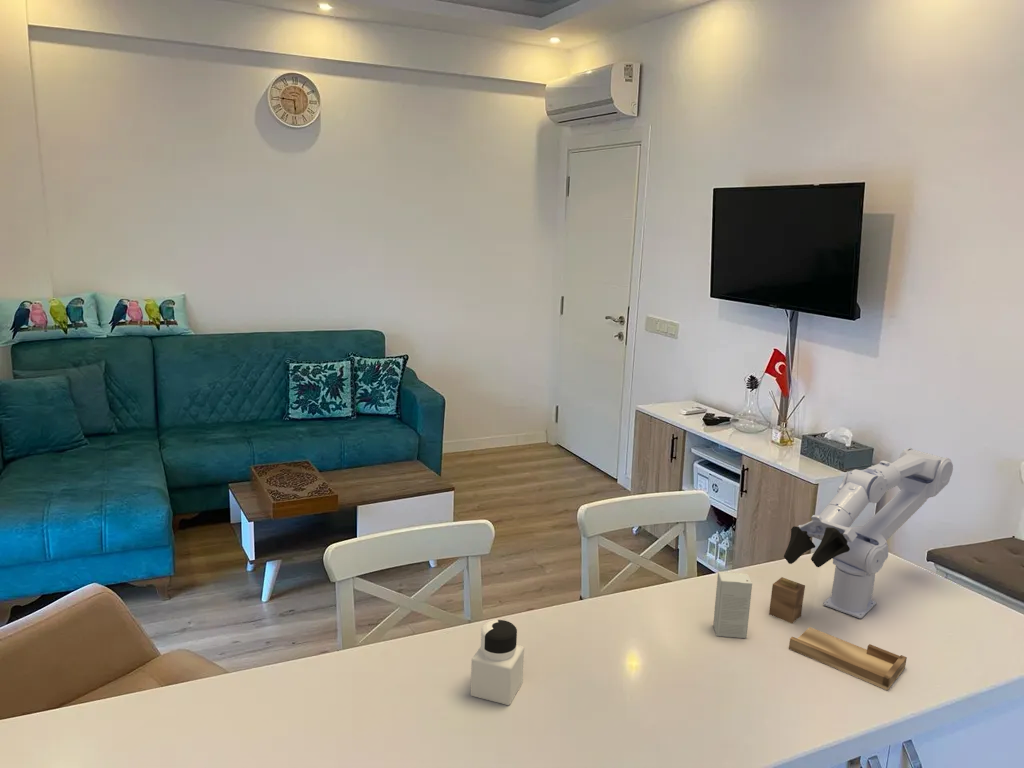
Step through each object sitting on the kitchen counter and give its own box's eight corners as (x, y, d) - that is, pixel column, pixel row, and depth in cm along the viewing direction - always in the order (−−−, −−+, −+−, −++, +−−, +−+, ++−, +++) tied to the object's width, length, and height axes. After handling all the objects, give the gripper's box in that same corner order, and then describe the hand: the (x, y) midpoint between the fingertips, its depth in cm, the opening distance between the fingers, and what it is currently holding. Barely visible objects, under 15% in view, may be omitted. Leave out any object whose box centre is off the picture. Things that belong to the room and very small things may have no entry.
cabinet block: (778, 607, 160) (782, 573, 158) (801, 616, 157) (805, 581, 155) (768, 614, 157) (773, 580, 155) (792, 623, 153) (796, 589, 152)
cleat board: (809, 629, 151) (810, 619, 151) (905, 667, 139) (906, 657, 139) (788, 648, 144) (790, 638, 144) (887, 690, 132) (889, 679, 132)
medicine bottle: (523, 682, 130) (525, 620, 128) (509, 706, 124) (512, 641, 121) (485, 673, 133) (487, 611, 130) (469, 696, 126) (471, 632, 123)
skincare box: (742, 627, 151) (748, 573, 148) (746, 639, 147) (753, 583, 144) (711, 625, 152) (717, 570, 149) (715, 636, 147) (721, 580, 145)
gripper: (802, 500, 158) (764, 544, 153) (855, 500, 144) (816, 548, 139) (821, 525, 158) (784, 569, 154) (875, 528, 145) (837, 577, 140)
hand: (800, 561), depth 147 cm, fingers open, 7 cm apart
